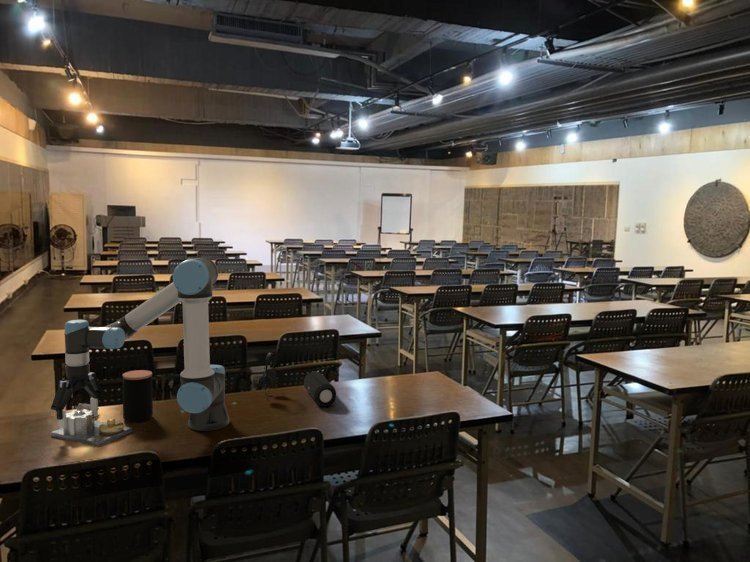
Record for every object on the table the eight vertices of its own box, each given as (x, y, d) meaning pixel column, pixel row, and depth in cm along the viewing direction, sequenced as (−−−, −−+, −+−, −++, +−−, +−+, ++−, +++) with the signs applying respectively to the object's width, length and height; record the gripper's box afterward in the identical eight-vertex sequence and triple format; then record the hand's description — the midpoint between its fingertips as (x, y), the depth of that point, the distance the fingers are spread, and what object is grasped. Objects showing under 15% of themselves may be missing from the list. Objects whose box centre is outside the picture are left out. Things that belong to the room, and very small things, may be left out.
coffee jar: (158, 416, 221) (158, 372, 219) (139, 425, 211) (138, 378, 209) (137, 412, 224) (136, 368, 222) (116, 421, 214) (116, 375, 212)
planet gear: (100, 427, 203) (100, 411, 203) (77, 437, 194) (77, 420, 193) (80, 423, 207) (80, 407, 206) (57, 432, 197) (56, 416, 197)
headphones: (282, 403, 242) (283, 358, 239) (256, 402, 242) (257, 357, 239) (288, 392, 256) (289, 350, 254) (264, 391, 257) (264, 349, 254)
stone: (100, 419, 215) (99, 405, 214) (76, 423, 211) (76, 408, 210) (98, 412, 224) (98, 397, 223) (75, 415, 220) (75, 400, 219)
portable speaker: (302, 391, 259) (302, 370, 258) (322, 389, 263) (323, 369, 262) (315, 409, 236) (315, 386, 235) (337, 407, 239) (338, 384, 238)
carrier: (131, 431, 204) (131, 409, 203) (98, 446, 190) (98, 422, 189) (86, 422, 212) (85, 400, 211) (51, 436, 198) (50, 413, 197)
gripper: (98, 354, 211) (99, 409, 213) (37, 370, 187) (39, 431, 190) (113, 357, 208) (114, 412, 210) (54, 373, 185) (55, 435, 187)
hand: (78, 421), depth 200 cm, fingers open, 13 cm apart
